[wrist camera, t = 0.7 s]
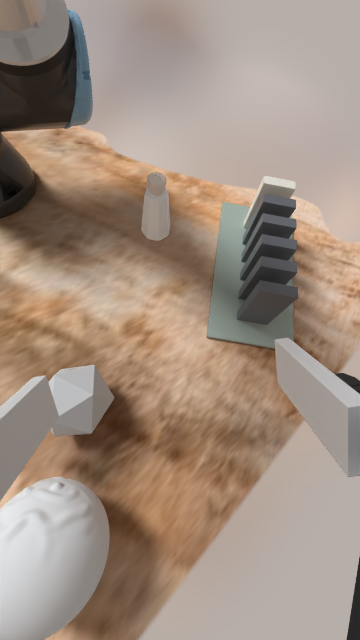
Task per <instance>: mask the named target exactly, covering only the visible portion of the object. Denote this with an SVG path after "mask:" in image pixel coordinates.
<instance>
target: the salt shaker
mask: <svg viewBox="0 0 360 640" xmlns="http://www.w3.org/2000/svg"><path fill="white" fill-rule="evenodd" d="M147 182H148V187H147V188H146V191H145V195H144V204H143V215H142V226H141V231H142V233H143V234H144V235H145V236H146V238H147V239H150V240H155V241H160V240H162V239H164V238H166V237H168V235H169V231H170V213H169V195H168V191H167V190H166V189H165V187H166V178H165V176H164V175H163V174H161V173H158V172H155V173H151V174H150V175H149V176H148V177H147Z"/></svg>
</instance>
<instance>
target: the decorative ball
mask: <svg viewBox="0 0 360 640" xmlns="http://www.w3.org/2000/svg"><path fill="white" fill-rule="evenodd" d="M109 542H110V531H109V523H108V518H107V514H106V511H105V509H104V506H103V504H102V502H101V501H100V499H99V498H98V496H97V495H96V494H95V493H94V492H93V491H92V490H91V489H90V488H89V487H87V486H86V485H84V484H82V483H80V482H78V481H76V480H71V479H66V478H63V477H53V478H49V479H45V480H41V481H38V482H36V483H35V484H33V485H32V486H30V487H26V488H24V490H23V491H21V492H20V493H18V494H17V495H16V496H14V497H13V498H12V499H11V500H9V501H8V502H7V503H6V504H5V505H4V506H3V507H2V508H1V509H0V640H43V639H46V638H48V637H50V636H52V635H53V634H55V633H57V632H58V631H60V630H61V629H62V628H64V627H65V626H66V625H67V624H69V623H70V622H71V621H72V620H73V619H74V618H75V617H76V616H77V615H78V614H79V613H80V611H81V610H82V609H83V608H84V607H85V605H86V604H87V602H88V601H89V600H90V598H91V596H92V595H93V593H94V591H95V590H96V588H97V586H98V584H99V581H100V579H101V577H102V574H103V571H104V568H105V565H106V561H107V557H108V552H109Z"/></svg>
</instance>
